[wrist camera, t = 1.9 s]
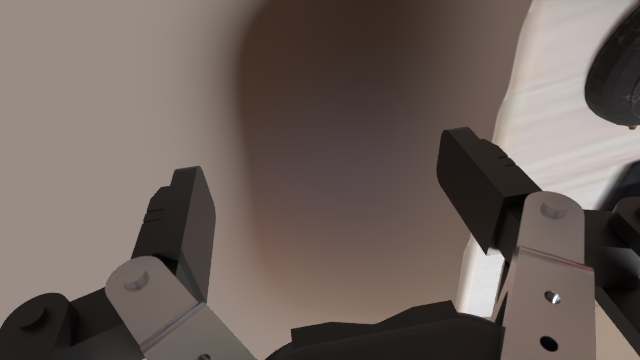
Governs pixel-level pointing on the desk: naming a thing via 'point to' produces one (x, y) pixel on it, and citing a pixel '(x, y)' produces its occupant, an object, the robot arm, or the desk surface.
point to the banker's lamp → (618, 77)
